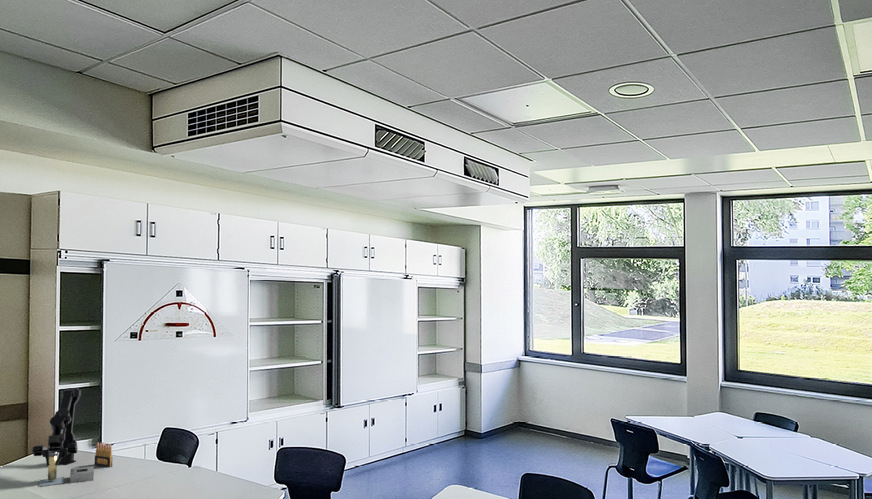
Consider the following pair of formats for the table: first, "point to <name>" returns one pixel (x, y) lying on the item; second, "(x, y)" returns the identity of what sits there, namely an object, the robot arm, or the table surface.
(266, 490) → the table surface
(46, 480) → the rubber mat
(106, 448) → the ammunition clip
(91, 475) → the metal housing
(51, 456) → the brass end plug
